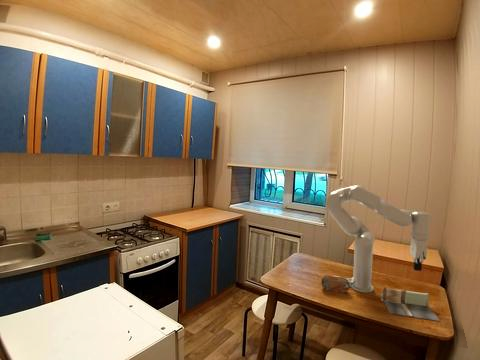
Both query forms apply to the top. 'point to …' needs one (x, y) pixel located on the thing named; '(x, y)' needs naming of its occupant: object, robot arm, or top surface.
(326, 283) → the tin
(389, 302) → the base
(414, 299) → the bar
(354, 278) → the robot arm
